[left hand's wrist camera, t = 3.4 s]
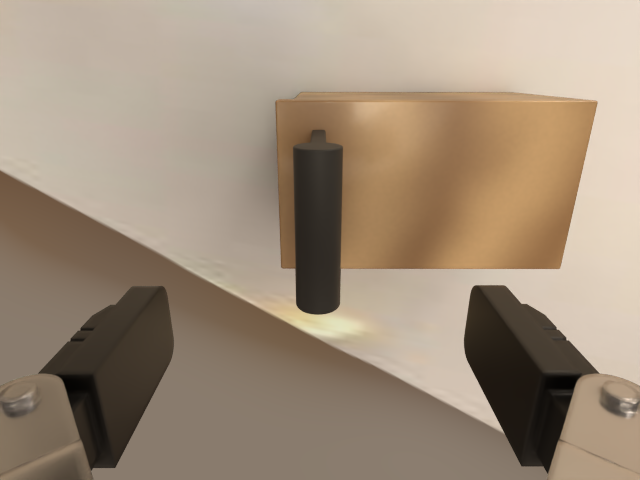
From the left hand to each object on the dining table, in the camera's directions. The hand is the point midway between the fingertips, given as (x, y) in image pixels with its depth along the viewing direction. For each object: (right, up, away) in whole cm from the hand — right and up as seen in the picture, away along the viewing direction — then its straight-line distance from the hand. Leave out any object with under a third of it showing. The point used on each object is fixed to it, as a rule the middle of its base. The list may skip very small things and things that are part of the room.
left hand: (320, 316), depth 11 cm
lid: (+6, +5, +13) cm, 15 cm away
